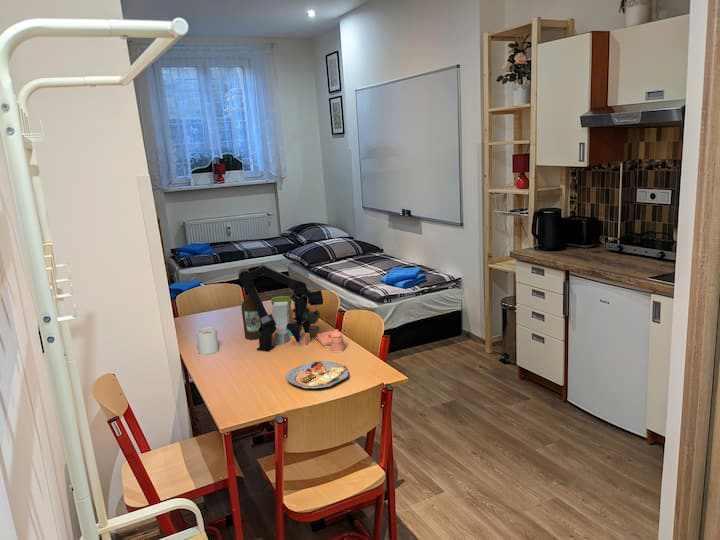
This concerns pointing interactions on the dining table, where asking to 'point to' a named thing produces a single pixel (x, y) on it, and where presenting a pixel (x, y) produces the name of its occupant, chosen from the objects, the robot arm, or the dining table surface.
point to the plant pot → (282, 299)
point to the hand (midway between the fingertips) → (302, 338)
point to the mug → (207, 340)
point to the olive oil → (250, 319)
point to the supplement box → (281, 314)
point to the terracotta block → (303, 339)
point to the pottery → (331, 340)
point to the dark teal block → (289, 331)
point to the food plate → (318, 368)
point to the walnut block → (314, 331)
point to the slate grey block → (281, 337)
